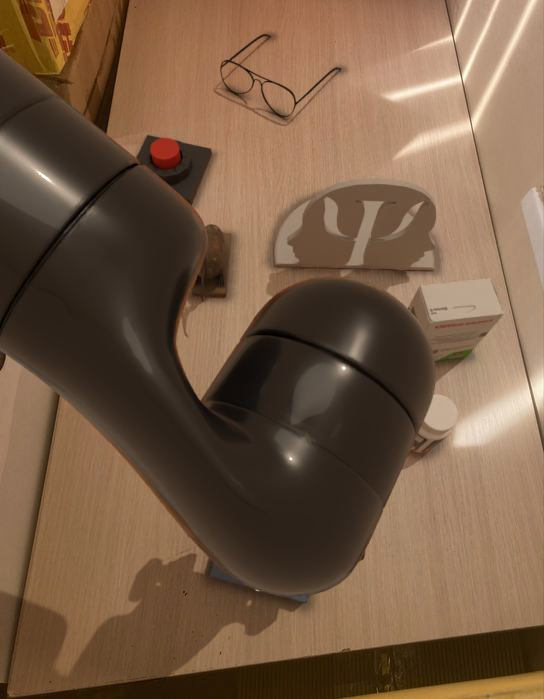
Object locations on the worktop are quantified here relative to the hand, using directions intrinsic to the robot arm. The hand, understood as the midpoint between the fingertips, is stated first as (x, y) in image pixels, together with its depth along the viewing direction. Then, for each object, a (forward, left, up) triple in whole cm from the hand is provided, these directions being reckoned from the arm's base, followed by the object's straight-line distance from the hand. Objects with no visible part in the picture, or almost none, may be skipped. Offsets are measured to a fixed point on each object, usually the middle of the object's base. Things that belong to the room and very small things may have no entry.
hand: (270, 531), depth 48 cm
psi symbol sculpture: (+1, +43, -11) cm, 45 cm away
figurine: (-16, +30, -11) cm, 36 cm away
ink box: (+14, +28, -11) cm, 33 cm away
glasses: (-16, +70, -11) cm, 73 cm away
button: (-27, +46, -8) cm, 54 cm away
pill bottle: (+14, +16, -11) cm, 24 cm away
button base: (-27, +46, -11) cm, 55 cm away
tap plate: (0, 0, -11) cm, 11 cm away
